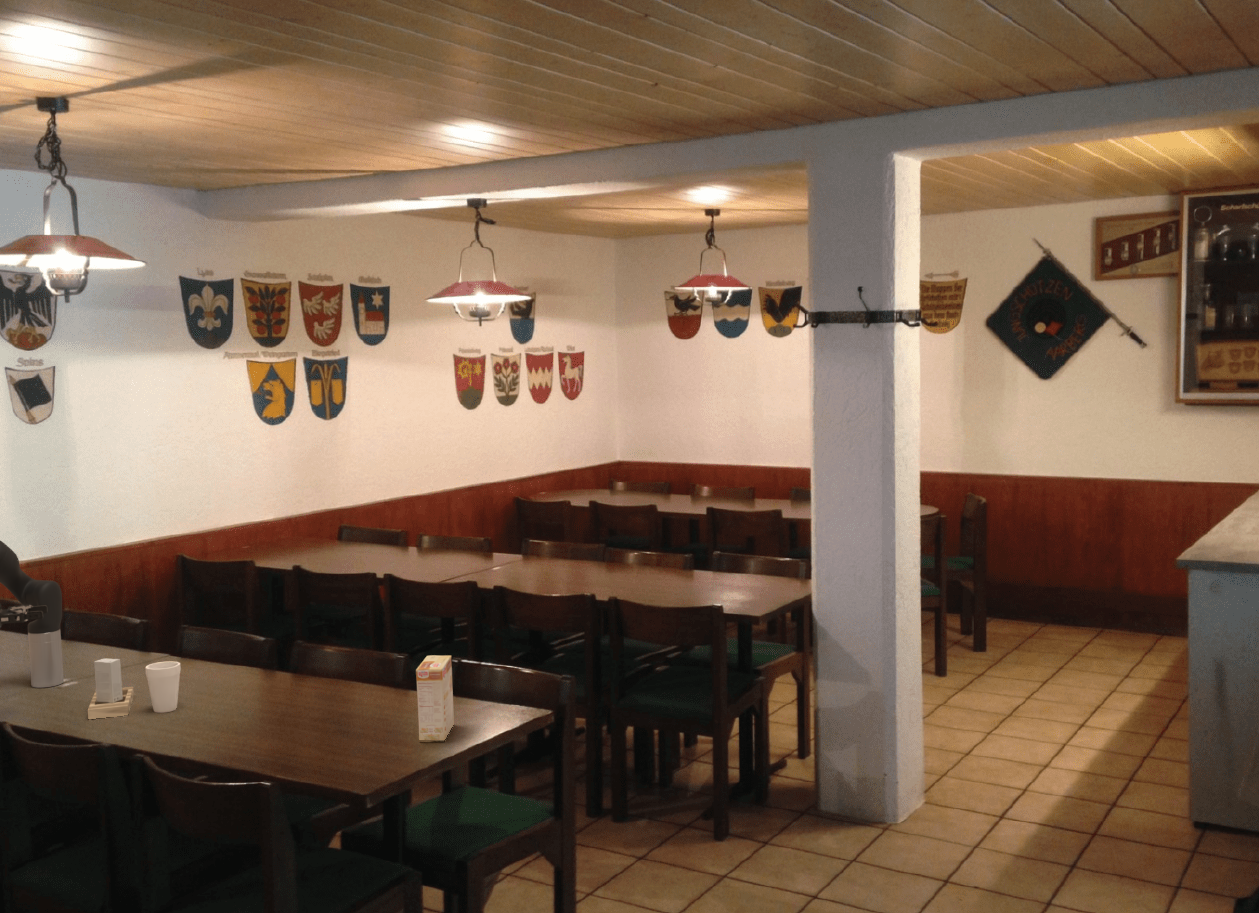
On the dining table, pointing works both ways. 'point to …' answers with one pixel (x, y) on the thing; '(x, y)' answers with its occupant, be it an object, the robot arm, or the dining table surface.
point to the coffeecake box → (435, 697)
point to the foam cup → (163, 685)
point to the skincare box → (108, 680)
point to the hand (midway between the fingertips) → (45, 611)
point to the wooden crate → (111, 706)
